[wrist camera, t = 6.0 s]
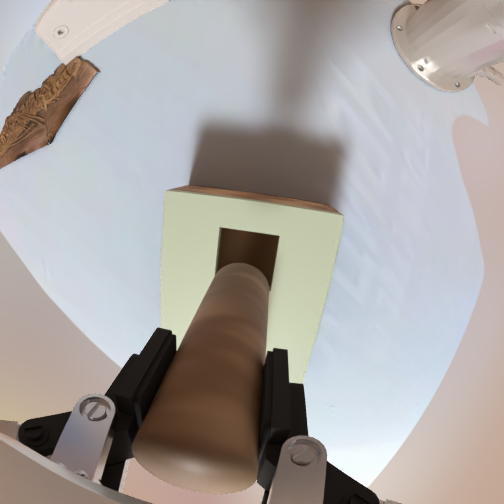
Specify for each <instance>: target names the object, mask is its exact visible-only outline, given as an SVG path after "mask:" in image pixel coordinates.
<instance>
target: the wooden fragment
mask: <svg viewBox="0 0 504 504" xmlns="http://www.w3.org/2000/svg"><path fill="white" fill-rule="evenodd" d="M97 72H100V71H98V70H97V69H96V68H95V67H94V66H93V65H92V63H91V62H90V61H83V60H81V59H80V58H79V57H77V56H76V57H75V58H74V59H72V60H71V61H70V62H69V63H68V64H67V65H65V64H64V63H62V64H61V65H60V66H59V67H58V68H57V69H56V70H55V71H54V74H53V75H51V76H50V77H48V78H47V79H46V81H43V83H42V88H40V89H39V90H35V91H34V92H33V93H32V94H31V93H28V92H27V93H26V94H24V95H23V96H22V97H21V98H20V100H19V101H18V103H17V105H16V107H15V108H14V110H13V112H12V113H11V115H10V116H9V117H7V118H6V120H5V125H4V126H3V128H2V129H3V130H2V132H1V134H0V169H1V168H2V167H4V166H6V165H8V164H10V163H12V162H13V161H15V160H17V159H19V158H20V157H23V156H25V155H27V154H29V153H32V152H33V151H35V150H37V149H39V148H42V147H44V146H46V145H49V144H48V139H49V142H50V144H51V143H52V141H53V138H54V136H55V134H56V132H57V131H58V129H59V127H60V126H61V124H62V123H63V121H64V119H65V118H66V116H67V115H68V113H69V112H70V110H71V109H72V107H73V106H74V104H75V103H76V101H77V100H78V98H79V97H80V96H81V94H82V93H83V92H84V90H85V89H86V87H87V86H88V84H89V83H90V81H91V80H92V78H93V77H94V76H95V74H96V73H97Z"/></svg>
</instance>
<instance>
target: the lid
mask: <svg viewBox="0 0 504 504" xmlns="http://www.w3.org/2000/svg"><path fill="white" fill-rule="evenodd" d="M343 219H344V215H342V214H341V213H336V212H330V211H324V210H318V209H312V208H306V207H300V206H294V205H287V204H281V203H274V202H267V201H260V200H253V199H246V198H238V197H231V196H223V195H215V194H206V193H198V192H188V191H179V190H166V191H165V198H164V211H163V227H162V247H161V284H160V317H161V328H163V329H168V330H171V331H172V334H174V335H176V344H177V350H178V348H179V346H180V344H181V342H182V339H183V337H184V335H185V333H186V331H187V329H188V328H189V326H190V324H191V322H192V320H193V318H194V316H195V314H196V312H197V310H198V308H199V306H200V304H201V302H202V300H203V298H204V296H205V294H206V292H207V290H208V288H209V286H210V284H211V282H212V280H213V278H214V276H215V275H216V273H217V267H218V257H219V247H220V238H221V229H222V228H229V229H236V230H243V231H250V232H257V233H264V234H271V235H278V236H279V239H278V245H277V252H276V258H275V264H274V270H273V276H272V282H271V286H269V306H268V325H267V343H266V355H267V351H273V348H279V349H287V350H288V365H289V382H290V383H300V384H302V381H303V378H304V375H305V372H306V369H307V365H308V362H309V359H310V355H311V352H312V349H313V345H314V342H315V338H316V335H317V331H318V327H319V324H320V320H321V316H322V312H323V309H324V305H325V301H326V297H327V293H328V289H329V285H330V280H331V276H332V272H333V267H334V263H335V258H336V254H337V249H338V244H339V240H340V235H341V230H342V225H343Z"/></svg>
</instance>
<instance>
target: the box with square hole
mask: <svg viewBox="0 0 504 504" xmlns="http://www.w3.org/2000/svg"><path fill="white" fill-rule="evenodd" d="M170 190H179V191H188V192H198V193H206V194H215V195H223V196H231V197H238V198H246V199H253V200H260V201H267V202H274V203H281V204H287V205H294V206H300V207H306V208H312V209H318V210H324V211H330V212H336V213H340V212H338V211H337V210H335V209H334V208H332V207H331V206H329V205H327V204H321V203H316V202H310V201H304V200H298V199H291V198H285V197H278V196H271V195H265V194H258V193H250V192H243V191H235V190H227V189H219V188H210V187H201V186H192V185H187V186H183V187H178V188H174V189H170ZM278 239H279V236H278V235H271V234H264V233H257V232H250V231H243V230H236V229H229V228H222V229H221V238H220V247H219V257H218V267H217V272H218V271H219V270H220V269H221V268H223V267H225V266H227V265H229V264H233V263H245V264H249V265H252V266H254V267H255V268H257V269H258V270H260V271H261V272H262V273H263V275H264V276H265V277H266V279H267V282H268V285H269V286H271V282H272V276H273V270H274V264H275V258H276V252H277V245H278Z"/></svg>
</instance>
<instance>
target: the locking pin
mask: <svg viewBox="0 0 504 504" xmlns="http://www.w3.org/2000/svg"><path fill="white" fill-rule="evenodd" d="M268 306H269V285H268V282H267V279H266V277H265V276H264V275H263V273H262V272H261V271H260V270H258V269H257V268H255V267H254V266H252V265H249V264H245V263H233V264H229V265H227V266H225V267H223V268H221V269H220V270H219V271H218V272H217V273H216V275H215V276H214V278H213V280H212V282H211V284H210V286H209V288H208V290H207V292H206V294H205V296H204V298H203V300H202V302H201V304H200V306H199V308H198V310H197V312H196V314H195V316H194V318H193V320H192V322H191V324H190V326H189V328H188V329H187V331H186V333H185V335H184V337H183V339H182V342H181V344H180V346H179V348H178V350H177V352H176V354H175V356H174V358H173V360H172V362H171V364H170V366H169V368H168V370H167V372H166V374H165V376H164V378H163V380H162V382H161V384H160V386H159V388H158V390H157V392H156V395H155V397H154V399H153V401H152V403H151V405H150V407H149V409H148V411H147V413H146V415H145V418H144V420H143V422H142V424H141V426H140V428H139V430H138V432H137V435H136V437H135V439H134V441H133V443H132V453H133V455H134V457H135V459H136V460H137V461H138V463H139V464H140V465H141V466H142V467H143V468H145V469H146V470H147V471H148V472H149V473H151V474H152V475H154V476H156V477H157V478H159V479H161V480H163V481H165V482H167V483H169V484H172V485H174V486H177V487H180V488H183V489H186V490H191V491H195V492H201V493H208V494H227V493H235V492H239V491H242V490H245V489H247V488H249V487H250V486H252V485H253V484H254V483H255V481H256V480H257V473H258V461H259V446H258V441H259V429H260V416H261V403H262V389H263V374H264V364H265V360H266V343H267V325H268Z"/></svg>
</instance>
